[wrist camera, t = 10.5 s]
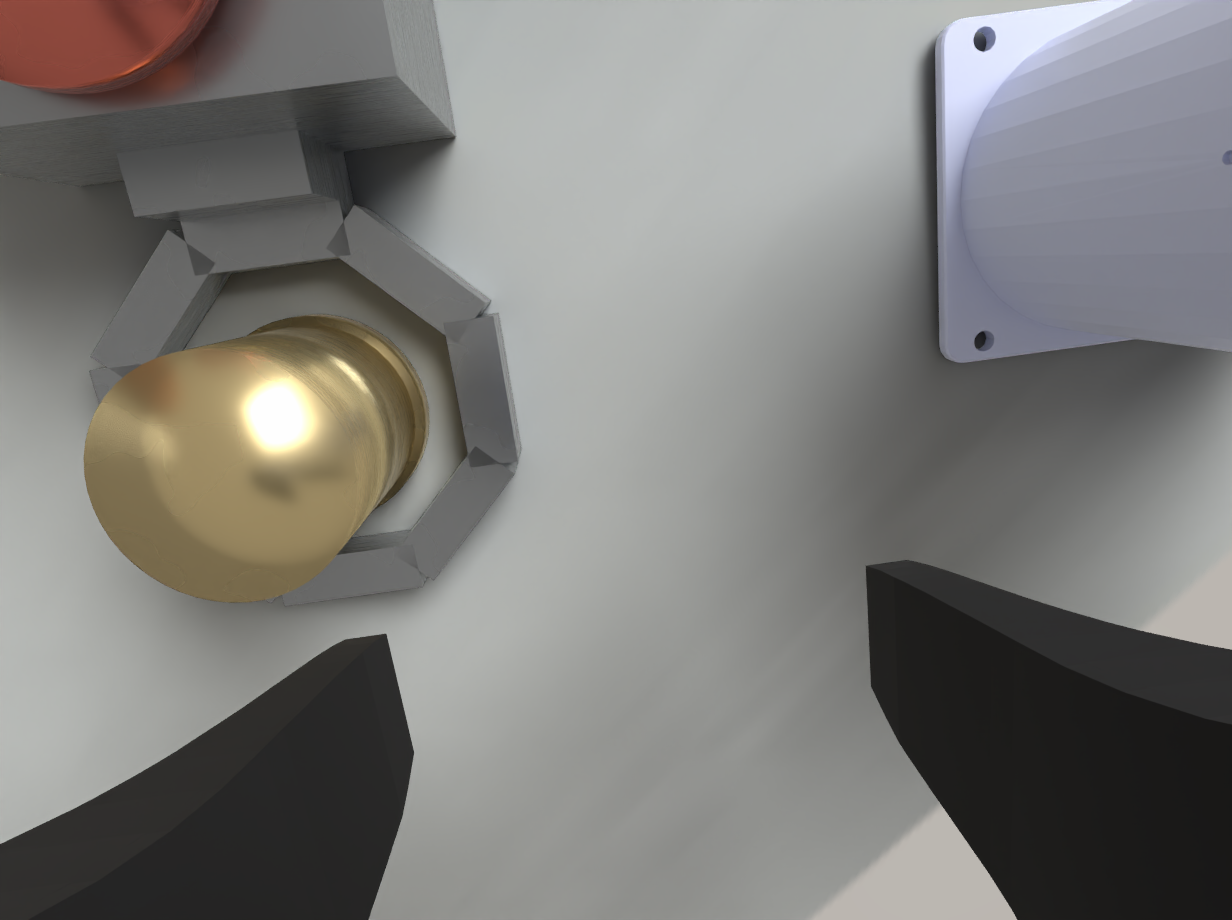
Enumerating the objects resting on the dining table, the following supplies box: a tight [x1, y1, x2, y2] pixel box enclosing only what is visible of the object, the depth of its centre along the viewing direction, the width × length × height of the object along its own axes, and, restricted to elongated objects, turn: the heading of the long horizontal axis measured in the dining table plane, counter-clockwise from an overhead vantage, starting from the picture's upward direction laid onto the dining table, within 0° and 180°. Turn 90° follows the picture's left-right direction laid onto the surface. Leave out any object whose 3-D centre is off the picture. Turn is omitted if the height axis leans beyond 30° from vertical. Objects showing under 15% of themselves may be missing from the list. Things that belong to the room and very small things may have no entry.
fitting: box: [84, 314, 430, 603], centre depth 16 cm, size 5×5×6 cm
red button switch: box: [0, 0, 521, 606], centre depth 14 cm, size 10×20×7 cm, turn 7°
